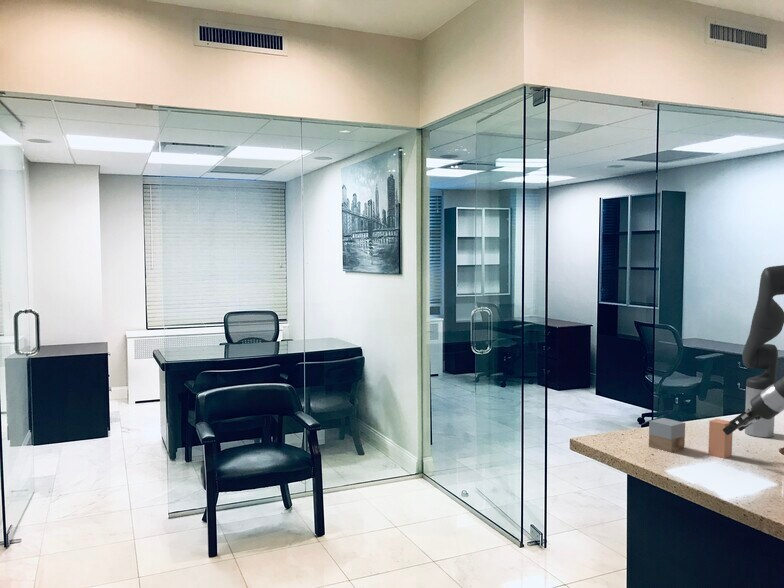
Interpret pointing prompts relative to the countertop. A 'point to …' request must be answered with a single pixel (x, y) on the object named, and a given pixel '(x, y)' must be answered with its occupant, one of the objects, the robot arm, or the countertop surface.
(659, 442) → the tower bottom slab
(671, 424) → the tower top slab
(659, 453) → the countertop surface
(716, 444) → the pillar
